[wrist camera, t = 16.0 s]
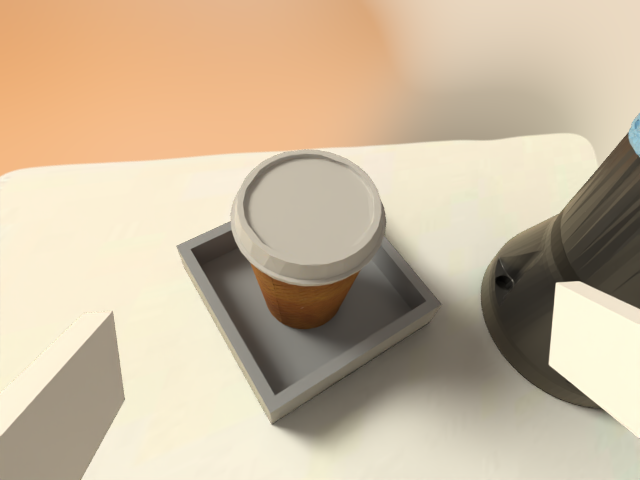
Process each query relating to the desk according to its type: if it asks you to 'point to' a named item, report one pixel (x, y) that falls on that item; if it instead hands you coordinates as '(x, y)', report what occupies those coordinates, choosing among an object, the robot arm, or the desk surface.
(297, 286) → the disposable coffee cup
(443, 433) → the desk surface
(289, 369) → the charcoal tray
